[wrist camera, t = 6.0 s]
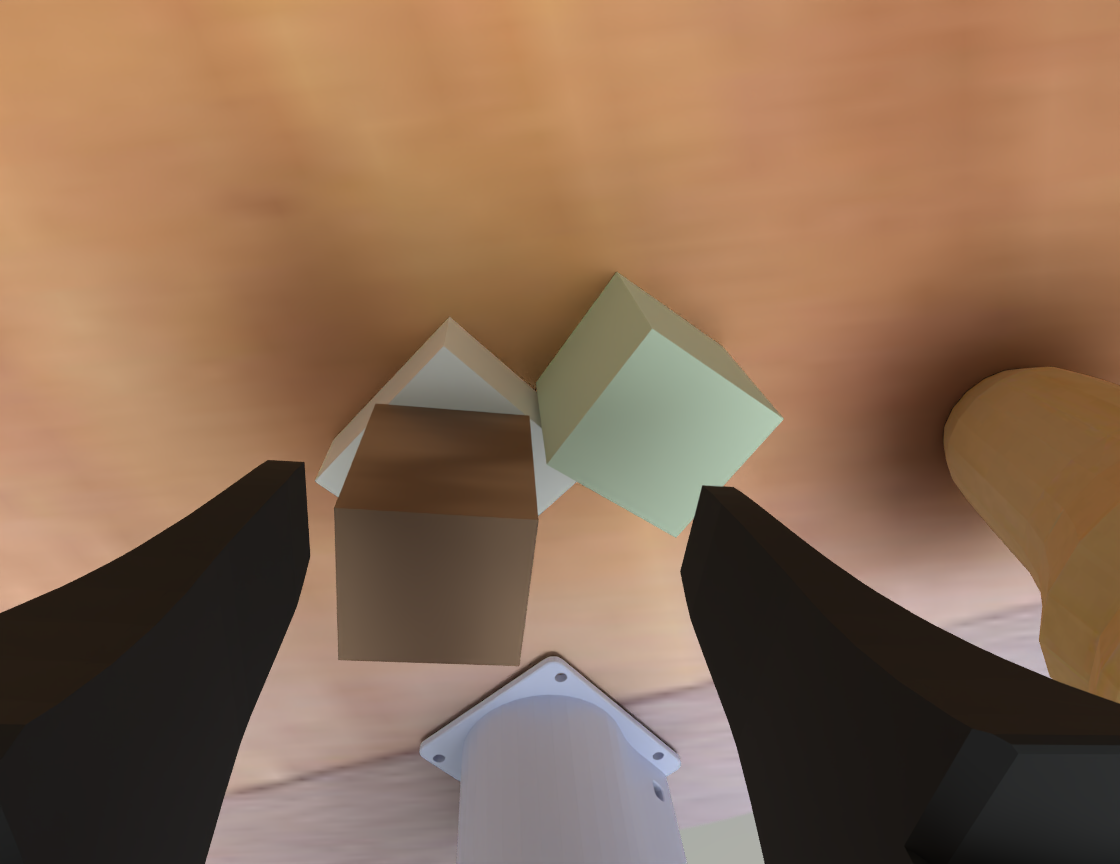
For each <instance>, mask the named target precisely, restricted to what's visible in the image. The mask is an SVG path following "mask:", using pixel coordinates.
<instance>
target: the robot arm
mask: <svg viewBox="0 0 1120 864" xmlns="http://www.w3.org/2000/svg"><path fill="white" fill-rule="evenodd" d="M309 559H310V544H309V528H308V512H307V496H306V480H305V464H304V462H292V461H275V460H267V461H266V462H264V463H263V464H261V465H260V466H258V467H257V468H255V469H254V470H252V471H251V472H250V473H248V474H247V475H245V476H244V477H243V478H241V479H240V480H238V481H237V482H236V483H234V484H233V485H231V486H230V487H229V488H227V489H226V490H224V491H223V492H222V493H220V494H219V495H217V496H216V497H214V498H213V499H211V500H210V501H208V502H207V503H206V504H204V505H203V506H201V507H200V508H198V509H197V510H195V511H194V512H193V513H191V514H190V515H188V516H187V517H185V518H184V519H182V520H180V521H179V522H177V523H175V524H174V525H172V526H171V527H169V528H167V529H166V530H164V531H163V532H161V533H159V534H158V535H156V536H155V537H153V538H151V539H150V540H148V541H147V542H145V543H143V544H142V545H140V546H138V547H137V548H135V549H133V550H132V551H130V552H128V553H126V554H125V555H123V556H121V557H119V558H117V559H115V560H114V561H112V562H110V563H108V564H106V565H104V566H102V567H100V568H98V569H96V570H94V571H92V572H90V573H88V574H86V575H85V576H83V577H81V578H79V579H77V580H75V581H73V582H70V583H68V584H66V585H64V586H62V587H60V588H58V589H55V590H53V591H51V592H48V593H46V594H44V595H41V596H39V597H37V598H34V599H32V600H30V601H27V602H25V603H23V604H21V605H18V606H16V607H14V608H11V609H9V610H7V611H4V612H2V613H0V864H205V862H206V858H207V855H208V851H209V848H210V844H211V841H212V837H213V834H214V830H215V827H216V823H217V820H218V816H219V813H220V809H221V806H222V802H223V799H224V796H225V792H226V789H227V786H228V782H229V779H230V776H231V773H232V769H233V766H234V763H235V759H236V756H237V753H238V750H239V746H240V743H241V740H242V738H243V735H244V732H245V730H246V727H247V724H248V722H249V719H250V716H251V714H252V712H253V709H254V707H255V705H256V702H257V700H258V698H259V695H260V693H261V691H262V688H263V686H264V683H265V681H266V679H267V676H268V674H269V672H270V669H271V667H272V665H273V662H274V660H275V658H276V655H277V653H278V651H279V648H280V646H281V643H282V641H283V639H284V636H285V634H286V631H287V629H288V627H289V624H290V622H291V619H292V617H293V615H294V612H295V610H296V607H297V604H298V601H299V597H300V594H301V590H302V586H303V583H304V579H305V575H306V571H307V567H308V563H309ZM680 572H681V577H682V582H683V587H684V592H685V597H686V602H687V606H688V610H689V615H690V619H691V622H692V624H693V627H694V630H695V633H696V636H697V638H698V641H699V644H700V647H701V649H702V652H703V655H704V658H705V660H706V663H707V666H708V668H709V671H710V674H711V676H712V679H713V682H714V684H715V687H716V690H717V692H718V695H719V698H720V700H721V703H722V706H723V708H724V711H725V714H726V716H727V719H728V722H729V725H730V728H731V731H732V734H733V737H734V740H735V743H736V746H737V750H738V754H739V758H740V762H741V766H742V770H743V774H744V777H745V781H746V785H747V789H748V793H749V797H750V801H751V805H752V810H753V814H754V818H755V823H756V827H757V831H758V836H759V840H760V844H761V849H762V853H763V858H764V862H765V864H1120V704H1119V703H1117V702H1114V701H1111V700H1108V699H1105V698H1103V697H1100V696H1097V695H1094V694H1091V693H1089V692H1086V691H1083V690H1080V689H1078V688H1075V687H1072V686H1069V685H1066V684H1064V683H1061V682H1058V681H1056V680H1053V679H1051V678H1048V677H1046V676H1043V675H1041V674H1039V673H1036V672H1034V671H1031V670H1029V669H1027V668H1024V667H1022V666H1019V665H1017V664H1015V663H1012V662H1010V661H1008V660H1005V659H1003V658H1001V657H999V656H996V655H994V654H992V653H990V652H988V651H985V650H983V649H981V648H979V647H977V646H975V645H973V644H971V643H969V642H967V641H965V640H963V639H961V638H959V637H957V636H955V635H953V634H951V633H949V632H947V631H945V630H943V629H941V628H939V627H937V626H935V625H933V624H931V623H929V622H928V621H926V620H924V619H922V618H920V617H918V616H917V615H915V614H913V613H911V612H910V611H908V610H906V609H905V608H903V607H901V606H899V605H898V604H896V603H894V602H893V601H891V600H889V599H888V598H886V597H884V596H883V595H881V594H879V593H878V592H876V591H875V590H873V589H871V588H870V587H868V586H867V585H865V584H864V583H862V582H861V581H859V580H858V579H856V578H855V577H853V576H852V575H851V574H849V573H848V572H846V571H845V570H843V569H842V568H840V567H839V566H838V565H836V564H835V563H833V562H832V561H830V560H829V559H828V558H826V557H825V556H824V555H822V554H821V553H820V552H818V551H817V550H816V549H814V548H813V547H812V546H810V545H809V544H808V543H806V542H805V541H804V540H802V539H801V538H800V537H798V536H797V535H796V534H795V533H793V532H792V531H791V530H790V529H788V528H787V527H786V526H784V525H783V524H782V523H781V522H779V521H778V520H777V519H776V518H774V517H773V516H772V515H771V514H769V513H768V512H767V511H765V510H764V509H763V508H762V507H760V506H759V505H758V504H756V503H755V502H754V501H753V500H751V499H750V498H749V497H747V496H746V495H744V494H743V493H742V492H740V491H739V490H737V489H736V488H734V487H722V486H705V485H702V488H701V492H700V496H699V500H698V504H697V508H696V512H695V516H694V520H693V524H692V528H691V532H690V535H689V539H688V543H687V547H686V551H685V555H684V559H683V563H682V567H681V571H680ZM559 673H564V674H562V675H557V674H559ZM419 753H420V755H421V756H422V757H423V758H424V759H426V760H427V761H429V762H430V763H432V764H433V765H435V766H436V767H438V768H440V769H441V770H443V771H444V772H446V773H447V774H449V775H450V776H452V777H453V778H455V779H456V780H458V781H460V782H461V783H460V802H459V822H458V842H457V861H456V864H687V861H686V857H685V852H684V848H683V844H682V840H681V836H680V832H679V828H678V823H677V819H676V815H675V811H674V807H673V803H672V799H671V795H670V790H669V786H668V782H667V778H666V776H668V775H670V774H671V773H673V772H675V771H676V770H678V769H679V768H680V766H681V761H680V757H679V756H678V754H677V753H675V752H674V751H673V750H672V749H671V748H669V747H668V746H667V745H666V744H664V743H663V742H662V741H661V740H660V739H658V738H657V737H656V736H655V735H654V734H652V733H651V732H650V731H649V730H648V729H646V728H645V727H644V726H643V725H641V724H640V723H639V722H638V721H637V720H635V719H634V718H633V717H632V716H631V715H629V714H628V713H627V712H626V711H624V710H623V709H622V708H621V707H620V706H618V705H617V704H616V703H615V702H614V701H612V700H611V699H610V698H609V697H608V696H606V695H605V694H604V693H603V692H601V691H600V690H599V689H598V688H597V687H595V686H594V685H593V684H592V683H591V682H589V681H588V680H587V679H586V678H584V677H583V676H582V675H581V674H580V673H578V672H577V671H576V670H575V669H574V668H572V667H571V666H570V665H569V664H568V663H566V662H565V661H564V660H563V659H561V658H559V657H556V656H551V657H547V658H545V659H544V660H542V661H541V662H539V663H538V664H536V665H535V666H533V667H532V668H530V669H529V670H527V671H526V672H524V673H523V674H522V675H520V676H519V677H517V678H516V679H514V680H513V681H511V682H510V683H508V684H507V685H505V686H504V687H502V688H501V689H499V690H498V691H496V692H495V693H493V694H492V695H490V696H489V697H488V698H486V699H485V700H483V701H482V702H480V703H479V704H477V705H476V706H474V707H473V708H471V709H470V710H468V711H467V712H465V713H464V714H462V715H461V716H459V717H458V718H457V719H455V720H454V721H452V722H451V723H449V724H448V725H446V726H445V727H443V728H442V729H440V730H439V731H437V732H436V733H434V734H433V735H431V736H430V737H428V738H427V739H425V740H424V741H423V742H422V743H421V745H420V752H419Z"/></svg>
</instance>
